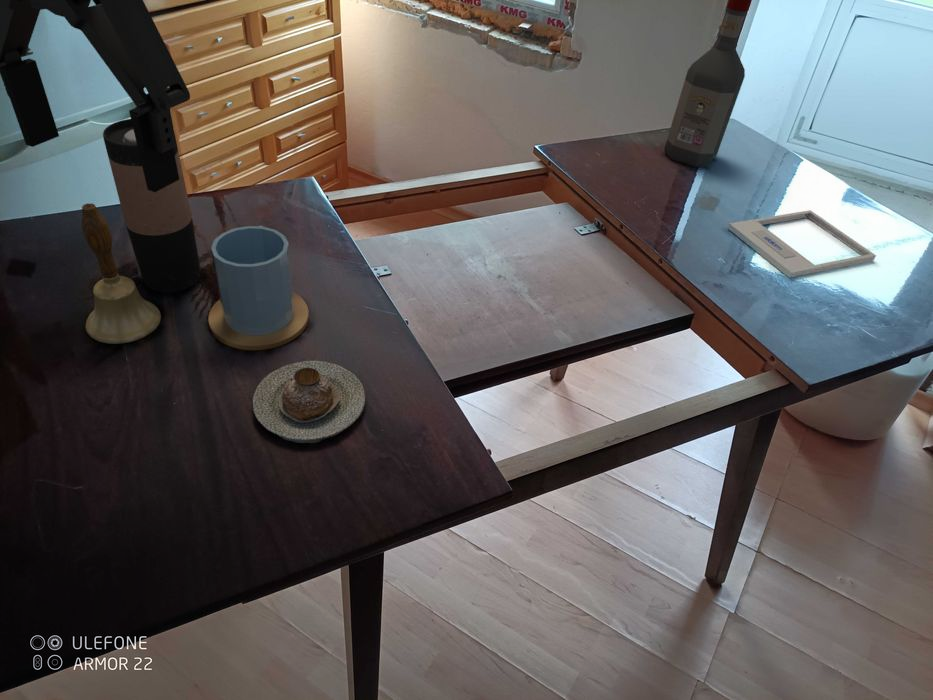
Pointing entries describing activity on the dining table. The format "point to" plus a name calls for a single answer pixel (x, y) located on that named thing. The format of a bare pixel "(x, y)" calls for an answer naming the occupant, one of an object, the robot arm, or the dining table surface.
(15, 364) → the dining table surface
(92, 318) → the hand bell
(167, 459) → the dining table surface
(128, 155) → the travel mug
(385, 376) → the dining table surface
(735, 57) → the liquor
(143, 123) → the robot arm
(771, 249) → the photo frame
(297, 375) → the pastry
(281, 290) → the mug
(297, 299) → the coaster
